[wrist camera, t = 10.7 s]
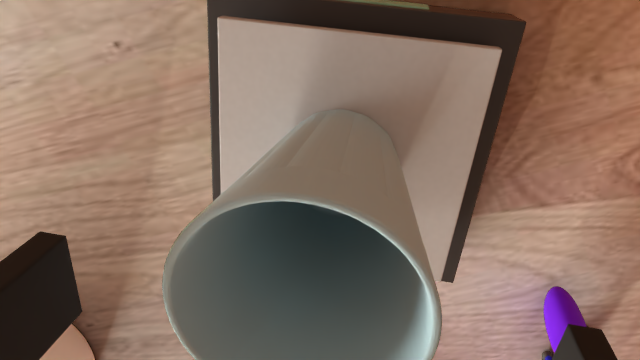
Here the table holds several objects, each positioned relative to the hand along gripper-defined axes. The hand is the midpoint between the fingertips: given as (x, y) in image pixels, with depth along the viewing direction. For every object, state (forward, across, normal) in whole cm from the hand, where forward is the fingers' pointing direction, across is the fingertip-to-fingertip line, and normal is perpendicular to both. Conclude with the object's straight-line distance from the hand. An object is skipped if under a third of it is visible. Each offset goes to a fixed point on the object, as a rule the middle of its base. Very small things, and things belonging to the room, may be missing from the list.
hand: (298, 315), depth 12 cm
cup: (+11, 0, 0) cm, 11 cm away
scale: (+15, 0, 0) cm, 15 cm away
